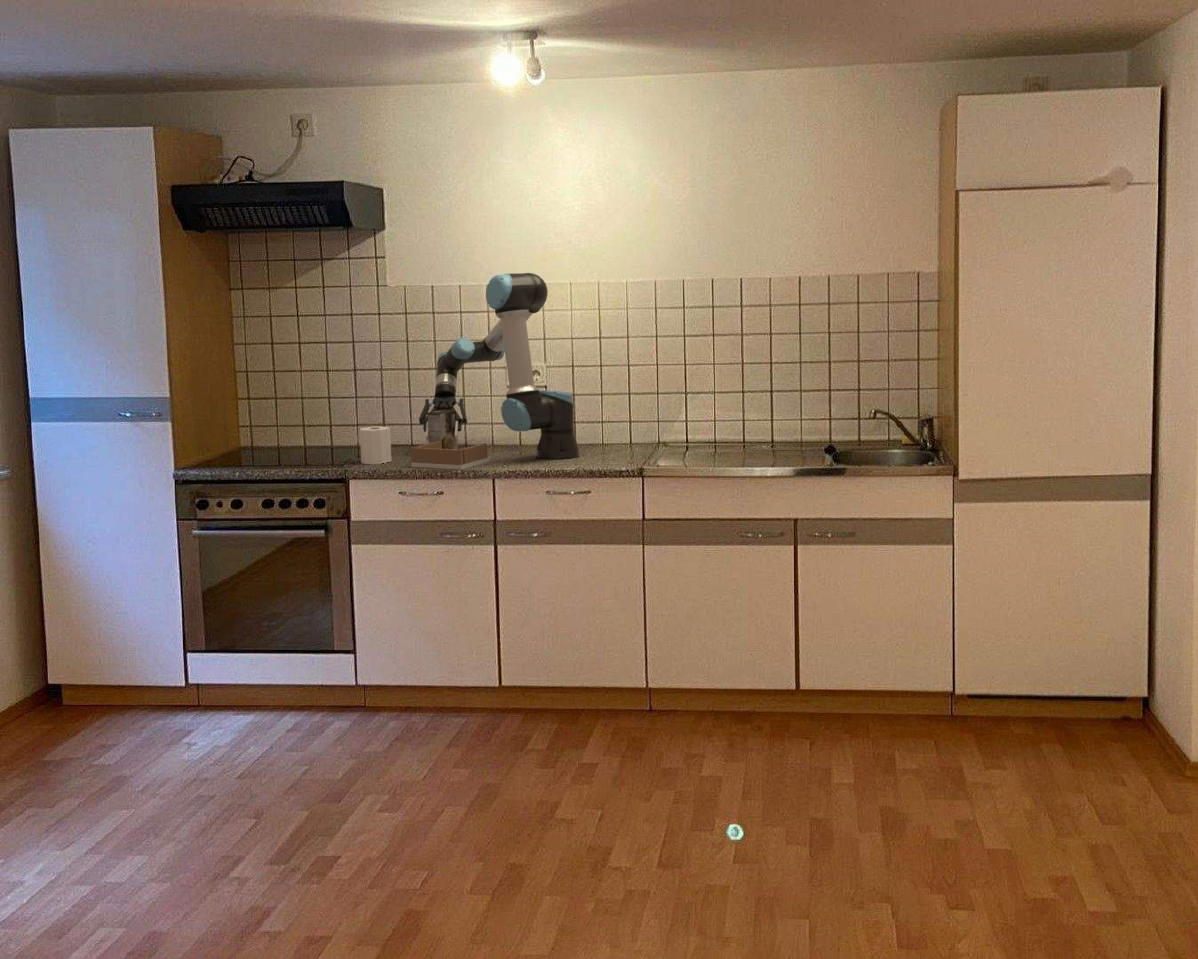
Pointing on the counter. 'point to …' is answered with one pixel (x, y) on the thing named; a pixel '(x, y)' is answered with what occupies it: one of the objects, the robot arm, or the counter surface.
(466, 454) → the tray
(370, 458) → the toilet paper
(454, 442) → the coffee box
